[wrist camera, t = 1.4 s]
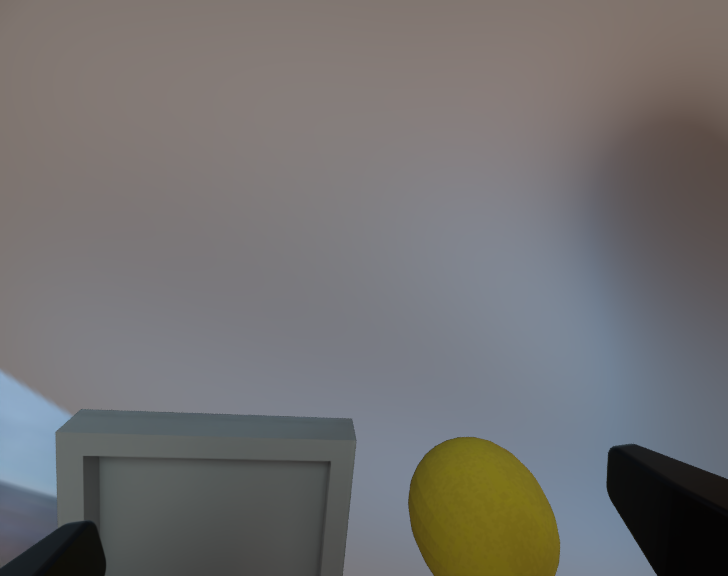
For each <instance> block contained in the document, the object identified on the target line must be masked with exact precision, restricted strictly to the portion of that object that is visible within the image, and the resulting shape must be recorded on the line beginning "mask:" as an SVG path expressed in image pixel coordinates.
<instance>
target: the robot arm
mask: <svg viewBox="0 0 728 576" xmlns="http://www.w3.org/2000/svg"><path fill="white" fill-rule="evenodd" d="M607 492H608V494H609V497H610V499H611V501H612V503H613V505H614V506H615V508H616V510H617V511H618V513H619V514H620V516H621V518H622V519H623V521H624V522H625V524H626V526H627V527H628V529H629V530H630V532H631V534H632V535H633V537H634V539H635V540H636V542H637V544H638V545H639V547H640V548H641V550H642V552H643V553H644V555H645V557H646V558H647V560H648V562H649V563H650V565H651V566H652V568H653V570H654V571H655V573H656V574H657V576H728V479H726V478H724V477H721V476H718V475H716V474H713V473H710V472H708V471H705V470H702V469H700V468H697V467H694V466H692V465H689V464H686V463H683V462H681V461H678V460H676V459H673V458H670V457H668V456H665V455H663V454H660V453H657V452H655V451H652V450H649V449H647V448H644V447H641V446H638V445H636V444H626V445H619V446H613V447H612V448H610V450H609V452H608V464H607ZM105 573H106V557H105V553H104V550H103V546H102V542H101V539H100V535H99V532H98V528H97V526H96V524H95V523H94V522H93V521H91V520H84V521H77V522H70V523H66V524H64V525H62V526H61V527H59V528H58V529H56V530H55V531H54V532H52V533H51V534H49V535H48V536H46V537H45V538H43V539H42V540H41V541H39V542H38V543H36V544H35V545H33V546H32V547H30V548H29V549H28V550H26V551H25V552H23V553H22V554H20V555H19V556H17V557H16V558H15V559H13V560H12V561H10V562H9V563H7V564H6V565H5V566H3V567H2V568H0V576H105Z"/></svg>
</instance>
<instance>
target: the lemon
mask: <svg viewBox="0 0 728 576" xmlns="http://www.w3.org/2000/svg"><path fill="white" fill-rule="evenodd" d="M408 505H409V514H410V521H411V527H412V532H413V535H414V538H415V540H416V543H417V545H418V547H419V550H420V552H421V554H422V556H423V558H424V560H425V562H426V564H427V566H428V567H429V569H430V570H431V572H432V573H433V575H434V576H555V574H556V571H557V568H558V564H559V555H560V539H559V534H558V529H557V524H556V520H555V516H554V513H553V511H552V509H551V506H550V504H549V502H548V500H547V498H546V496H545V494H544V492H543V490H542V489H541V487H540V485H539V483H538V482H537V480H536V478H535V477H534V476H533V474H532V473H531V472H530V471H529V470H528V469H527V468H526V467H525V466H524V465H523V464H522V463H521V462H520V461H519V460H518V459H517V458H516V457H515V456H514V455H513V454H512V453H510V452H509V451H507V450H506V449H504V448H502V447H500V446H498V445H497V444H494V443H493V442H491V441H488V440H484V439H480V438H476V437H458V438H454V439H450V440H446V441H444V442H442V443H441V444H439V445H437V446H435V447H434V448H433V449H431V450H430V451H429V452H428V453H427V454H426V455H425V456H424V457H423V459H422V460H421V462H420V463H419V464H418V466H417V468H416V470H415V472H414V475H413V477H412V480H411V484H410V491H409V499H408Z"/></svg>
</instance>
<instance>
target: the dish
mask: <svg viewBox="0 0 728 576" xmlns="http://www.w3.org/2000/svg"><path fill="white" fill-rule="evenodd" d="M55 434H56V473H57V513H58V528H59V527H61V526H62V525H64V524H66V523H70V522H77V521H84V520H91V521H93V522H94V523H95V524H96V526H97V528H98V532H99V535H100V539H101V542H102V546H103V550H104V553H105V557H106V573H105V576H342V575H343V567H344V557H345V547H346V536H347V528H348V517H349V507H350V498H351V488H352V479H353V469H354V459H355V449H356V436H355V431H354V426H353V421H352V419H346V418H317V417H289V416H259V415H231V414H202V413H174V412H146V411H116V410H88V409H87V410H86V409H81V410H80V411H79V412H77V413H76V414H75V415H74V416H73V417H72V418H71V419H70V420H68V421H67V422H66V423H65V424H64V425H63V426H62V427H61V428H59V429H58V430H57V431H56V432H55Z"/></svg>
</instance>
